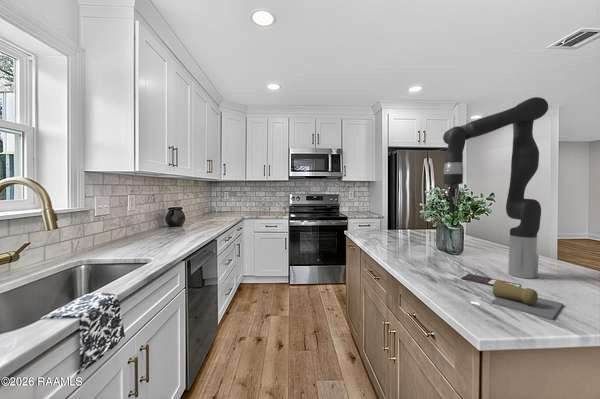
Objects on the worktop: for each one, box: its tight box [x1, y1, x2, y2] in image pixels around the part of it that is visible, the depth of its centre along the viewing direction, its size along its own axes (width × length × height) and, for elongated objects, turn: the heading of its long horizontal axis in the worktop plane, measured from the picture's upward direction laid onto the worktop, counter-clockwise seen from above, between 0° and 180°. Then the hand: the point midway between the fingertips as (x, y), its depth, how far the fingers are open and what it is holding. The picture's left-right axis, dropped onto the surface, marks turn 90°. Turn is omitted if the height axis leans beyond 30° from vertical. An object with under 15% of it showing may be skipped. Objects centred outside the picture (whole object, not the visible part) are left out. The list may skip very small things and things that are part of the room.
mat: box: [491, 297, 564, 321], centre depth 91 cm, size 15×16×1 cm
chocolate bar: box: [461, 273, 521, 288], centre depth 112 cm, size 9×1×18 cm
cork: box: [492, 279, 539, 305], centre depth 93 cm, size 6×6×11 cm
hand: (452, 212), depth 125 cm, fingers closed
